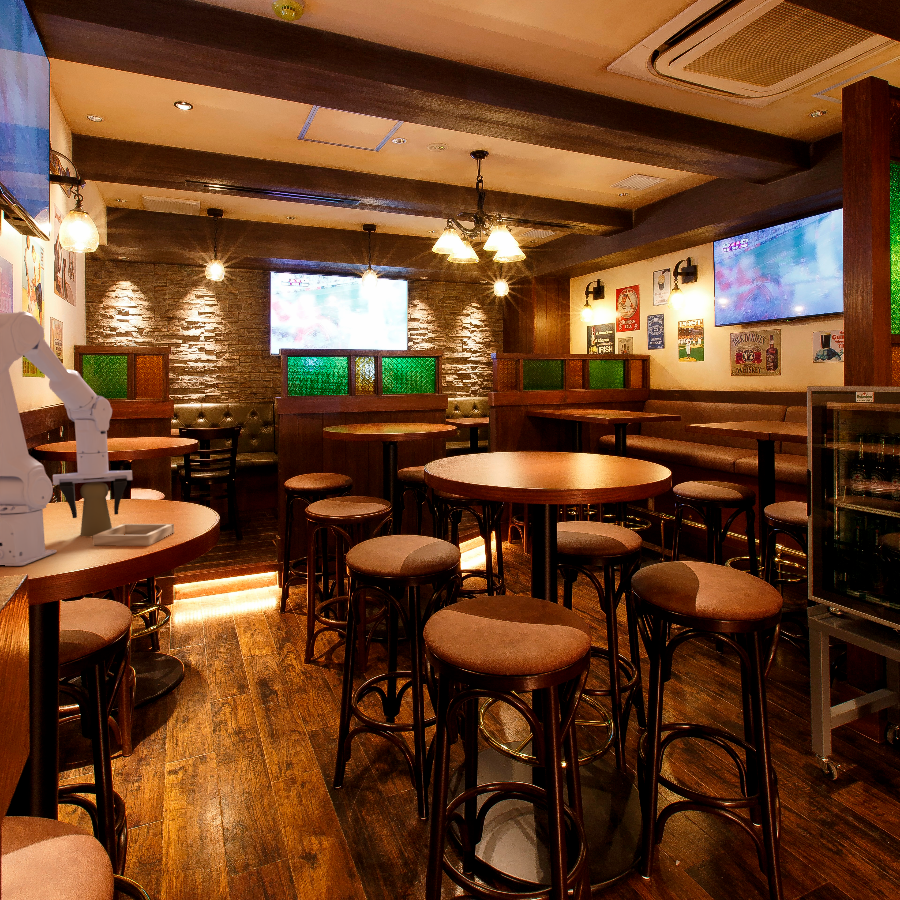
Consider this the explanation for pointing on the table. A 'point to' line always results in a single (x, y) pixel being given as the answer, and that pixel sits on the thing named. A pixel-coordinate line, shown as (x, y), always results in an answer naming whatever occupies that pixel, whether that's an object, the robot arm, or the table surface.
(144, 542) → the open square wooden box
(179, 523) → the table surface
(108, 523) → the cork
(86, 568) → the table surface
